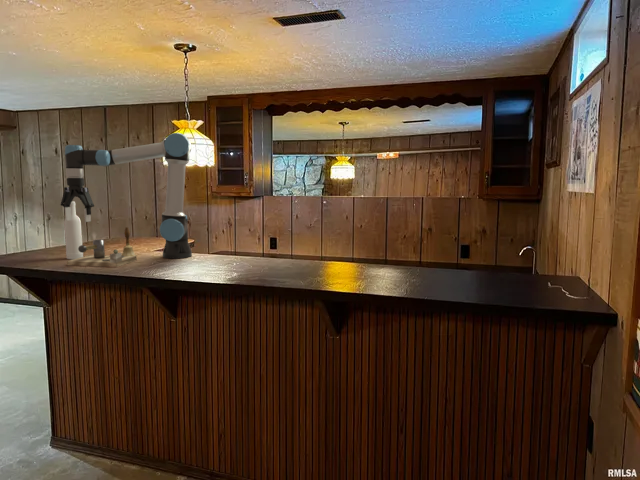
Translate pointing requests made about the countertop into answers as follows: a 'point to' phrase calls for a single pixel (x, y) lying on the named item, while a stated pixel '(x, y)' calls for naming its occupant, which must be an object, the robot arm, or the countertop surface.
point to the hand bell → (128, 249)
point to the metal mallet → (95, 248)
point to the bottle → (73, 234)
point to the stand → (103, 260)
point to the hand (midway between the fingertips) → (78, 221)
